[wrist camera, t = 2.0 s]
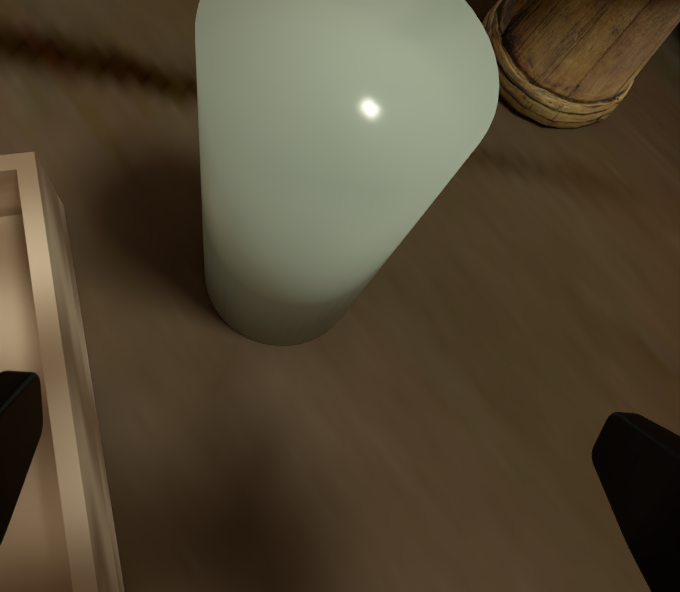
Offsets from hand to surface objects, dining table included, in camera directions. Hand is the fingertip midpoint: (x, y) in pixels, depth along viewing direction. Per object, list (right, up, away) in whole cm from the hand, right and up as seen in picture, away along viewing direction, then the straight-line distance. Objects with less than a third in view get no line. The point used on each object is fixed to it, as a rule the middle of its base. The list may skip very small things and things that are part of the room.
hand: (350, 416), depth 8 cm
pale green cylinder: (-3, +3, +15) cm, 15 cm away
